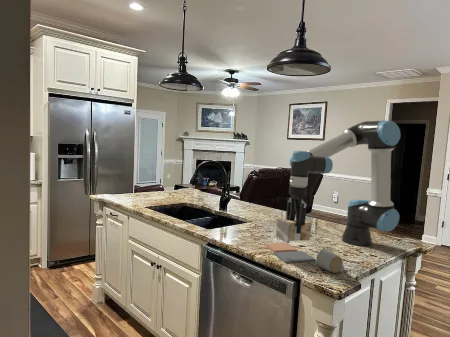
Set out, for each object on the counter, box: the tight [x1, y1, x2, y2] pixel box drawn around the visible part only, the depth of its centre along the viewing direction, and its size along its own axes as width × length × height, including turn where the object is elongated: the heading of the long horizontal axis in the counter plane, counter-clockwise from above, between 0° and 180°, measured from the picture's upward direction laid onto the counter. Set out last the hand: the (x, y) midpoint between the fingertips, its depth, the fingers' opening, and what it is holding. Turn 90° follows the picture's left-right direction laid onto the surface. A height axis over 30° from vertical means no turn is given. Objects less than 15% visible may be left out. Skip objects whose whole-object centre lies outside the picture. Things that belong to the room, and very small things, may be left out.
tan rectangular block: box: [275, 218, 312, 244], centre depth 143 cm, size 13×10×8 cm
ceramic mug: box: [315, 248, 345, 274], centre depth 132 cm, size 11×8×8 cm
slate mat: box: [272, 250, 316, 264], centre depth 144 cm, size 15×11×1 cm
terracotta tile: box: [264, 242, 298, 253], centre depth 155 cm, size 2×10×12 cm
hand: (293, 238), depth 143 cm, fingers closed on tan rectangular block, 4 cm apart
